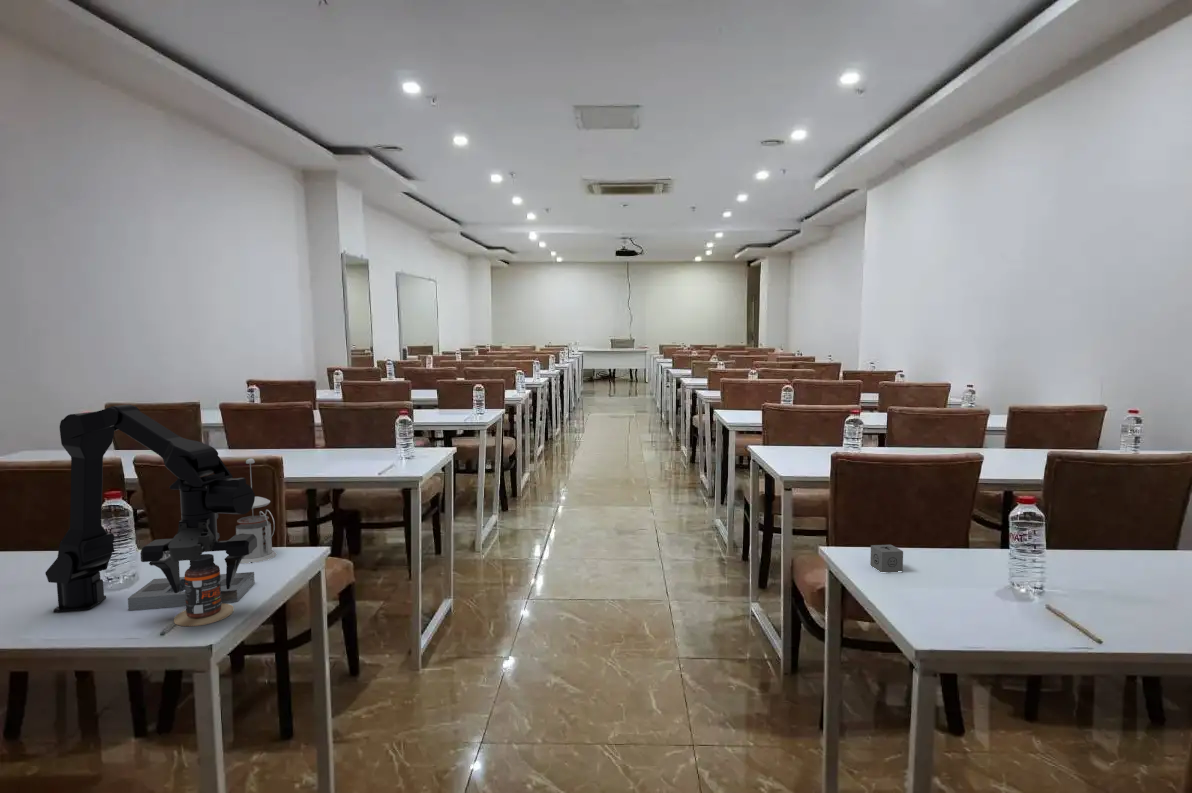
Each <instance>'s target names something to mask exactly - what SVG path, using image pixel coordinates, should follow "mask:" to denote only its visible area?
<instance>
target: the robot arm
mask: <svg viewBox="0 0 1192 793" xmlns="http://www.w3.org/2000/svg"><path fill="white" fill-rule="evenodd" d="M115 431H120V432H122V433H124V434H125V435H126V436H128V437H130V438H131V439H133V440H135V442H138V443H140V444H141V445H142V446H143V447H145V448H147V449H149V450H150V451H151V452H153V453H155V454H156V455H158V456H159V457H160V458H162V460H163V464H164V466H165V468H166V469H167V470H168V471H170V472H171V473H172V474H173V475H174V476H175V477H176V478H177V479H176V480H175V482H173V483H172V484H171V485H169V490H177V491H179V495H180V496H179V498H180V501H179V502H180V513H181V514H180V515H181V520H179V521H178V530H177V532H176V534H175V535H174V536H173V538H161V539H160V538H159V539H154V540H152V541H151V542H149V543H148V544H146V545H144V546H143V547H142V548H141V551H140V562H142V563H148V564H149V565H150V566H155V567H156V568H159V569H160V570H161V572H162V573H163V574H164V576H165V578H167V580H168V581H169V583H170V585H171V587H172V589H173V591H174V593H178V592H179V588H180V577H181V574H180V562H181V561H189V562H190V561H195V560H198V559H199V558H200V557H201V555H202V554H203V553H207V552H221V551H222V552H223V551H225V554H227V556H225V558H224V561H225V564H226V570H225V571H226V573H225V574H226V587H227V589H230V588H231V585H232V583H233V580H234V577H235V574H236V573H237V572H238V568H239V566H240V564H241V563H240V562H241V560H242V559H243V558H244V557H245V556H246V555H249V554H250V553H251V552H252V551H253V550H254V549H255V548H256V547H257V538H256V536H255V535H254V534H242V535H236V534H233V536H232V537H231V538H229V539H228V540H219V539H220V533H219V532H218V526H217V525H218V524H217V523H218V522H217V519H219V514H229V515H246V514H247V513H248V512H250V511H252V507H253V504H254V500H255V497H256V494H255V492H254V490H253V487H252V488H251V485H250V484H247V479H246V478H245V477H238V478H237V477H236V478H233V474H232V473H231V472H230V470H229V468H227V466H226V465H225V463H224V462H223V460H222V459H221V458H220V456H219V452H218V451H217V449H216V448H214V447H213V446H212V445H208V444H206V443H204V442H201V441H197V440H193V439H188V438H184V437H182V436H180V435H178V434H177V433H176V432H173V431H172V430H170V429H169V428H167V427H165V426H164V425H162V424H161V423H159V422H158V421H156V420H154V419H153V418H152V417H150V416H149V415H147V414H145V413H143V412H141V411H140V409H139V408H138V406H135V405H132V404H122V405H119V404H118V405H111V406H109V407H107V408H104V409H100V410H97V411H90V412H88V411H87V412H78V413H70V414H68V415H66V416H65V417H64V418H63V419H61V420H60V423H59V434H60V435H59V436H60V443H61V446H62V447H63V448H64V449H65V451H66V452H67V454H69V457H70V464H71V466H70V510H69V511H70V512H69V513H70V514H69V515H70V516H69V529H68V530H67V532H66V533H65V535H64V536H63V537H62V539H61V541H60V543H59V545H58V551H57V552H58V553H57V558H56V559H55V560H54V561H53V562H52V564H51V565H50V566H49V567H48V568H47V570H45V574H44V575H45V576H46V579H47V582H48V583H52V584H53V583H54V584H56V591H57V605H58V606H56V608H53V613H61V612H74V611H85V610H91V609H92V608H94V607H95V606H97V605H99V603H101V602H102V601H104V600H106V599H107V595H106V594H105V588H104V580H103V579H102V578H101V572H102V571H106V570H107V569H108V567H109V562H110V560H111V558H112V554H113V553H115V548H114V540H115V535H114V533H112V532H111V533H108V531H107V530H106V529H105V528H104V527H103V524H102V514H103V512H102V510H103V508H102V507H103V506H102V505H103V477H104V476H103V471H104V469H103V468H104V467H103V466H104V455H105V454H106V452H107V451H108V450H109V448H110V446H111V445H112V444H113V442H114V436H115Z"/></svg>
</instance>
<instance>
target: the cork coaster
mask: <svg viewBox="0 0 1192 793" xmlns="http://www.w3.org/2000/svg"><path fill="white" fill-rule="evenodd" d="M234 610H235V609H234V606H233V605H232V604H229V603H221V610H220V611H219V612H218V613H216V614H214V615H212V616H208V617H204V618H191V617H188V616H187V614H186V609H185V610H183V611H181V612H179V613H178V614H176V616H174V619H173V623H174V624H175V625H176V626H179V627H199V626H204V625H205V626H206V625H210V624H213V623H216V622H220V621H222V620H224V619H226V618H228V617H230V616H231V615H232V614H233V613H234Z"/></svg>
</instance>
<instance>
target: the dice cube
mask: <svg viewBox="0 0 1192 793" xmlns="http://www.w3.org/2000/svg"><path fill="white" fill-rule="evenodd" d="M869 562H870V563H869V564H870V565H871V566H873V567H874V568H876V569H877V570H879V571H880V572H898V571H904V570H903V569H904V551H903V550H902V549H900V548H898V547H897V546H894V545H892V544H875V545H874V544H873V545H870V560H869ZM871 566H870V567H871ZM873 567H872V568H873ZM874 568H873V569H874ZM876 569H875V570H876ZM877 570H876V571H877ZM879 571H878V572H879ZM880 572H879V573H880Z"/></svg>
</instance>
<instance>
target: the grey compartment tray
mask: <svg viewBox="0 0 1192 793" xmlns="http://www.w3.org/2000/svg"><path fill="white" fill-rule="evenodd" d="M255 582H256V581H255V572H254V571H249V572H236V574H235V577H234V580H233V583H232V585H231V588H230V589H227V587H226V573H220V583H221V597H222V598H221V603H224V604H229V603H238V602H239V601H240V600H241V599H242V598H243V597H244V595H245V594H246V593H247V592H248V591H249V589H251V587H252V586H254V585H255ZM127 607H128V608H127V609H128V611H139V610H150V609H153V610H154V609H163V608H164V609H165V608H177V607H186V598H185V576H180V588H179V592H178V593H174V591H173V589H172V587H171V585H170V583H169V581H168V580H167V578H166V577H163V578H153V579H152V580H151V581H149V582H148V583H146V584H144V586H142V587H141V588H139V589H138V590H136V592H135V593H133V594H131V595H130V596H129V597H127Z"/></svg>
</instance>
